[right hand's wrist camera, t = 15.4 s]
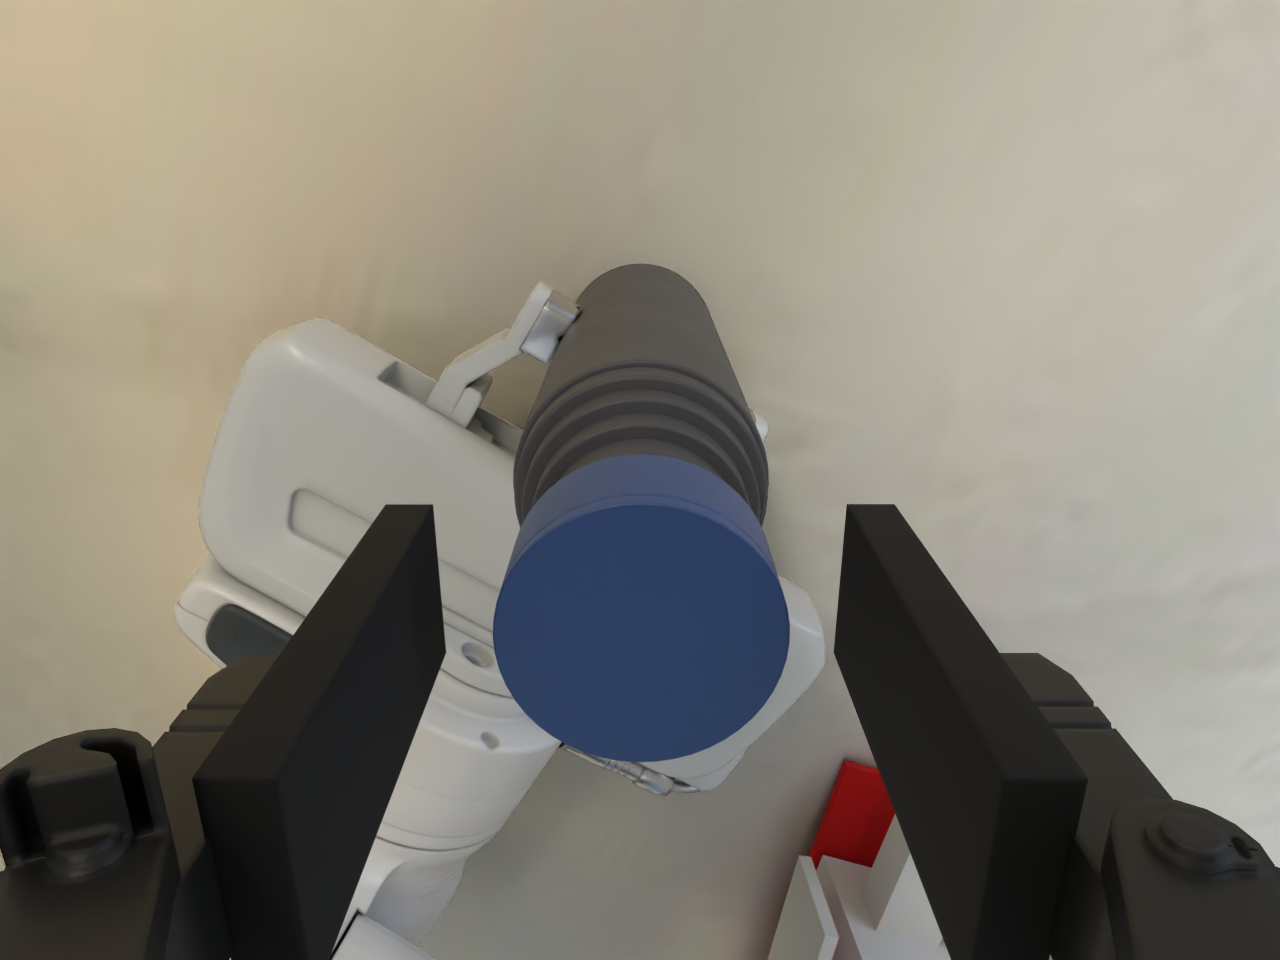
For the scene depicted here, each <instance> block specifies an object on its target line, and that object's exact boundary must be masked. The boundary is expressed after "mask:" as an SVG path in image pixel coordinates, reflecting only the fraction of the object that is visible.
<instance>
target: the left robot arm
mask: <svg viewBox="0 0 1280 960" xmlns="http://www.w3.org/2000/svg"><path fill="white" fill-rule="evenodd" d="M580 307H581V306H579V305H578V304H576V303H575V302H573V301H571V300H570V299H568V298H567V297H565V296H564V295H562V294H560V293H559V292H557V291H556V290H553V288H551V287H549V286H548V285H546V284H544V283H542V282H541V281H539V282H538V283H537V285H536V286H535V288H534V289H533V291H532V293H531V294H530V296H529V297H528V299H527V301H526V303H525V304H524V306H523V308H522V310H521V311H520V313H519V315H518V317H517V319H516V320H515V322H514V324H513V326H512V327H511V328H510V327H507V328H506V329H504V330H502V331H500V332H498V333H497V334H495V335H493V336H491V337H489V338H488V339H486V340H484V341H482V342H480V343H479V344H477V345H475V346H473V347H471V348H470V349H468V350H466V351H464V352H462V353H461V354H459V355H457V356H456V357H455V358H454V359H453V361H452V362H451V363H450V364H449V365H448V366H447V367H446V369H445V370H444V371H443V373H442V374H441V376H440V378H439V380H438V381H437V380H435V379H433V378H431V377H430V376H428V375H426V374H424V373H423V372H421V371H419V370H417V369H416V368H414V367H412V366H410V365H409V364H407V363H405V362H403V361H402V360H400V359H398V358H396V357H395V356H393V355H391V354H389V353H387V352H386V351H384V350H382V349H380V348H379V347H377V346H375V345H373V344H372V343H370V342H368V341H366V340H365V339H363V338H361V337H359V336H358V335H356V334H354V333H352V332H351V331H349V330H347V329H345V328H344V327H342V326H340V325H339V324H337V323H335V322H333V321H331V320H329V319H326V318H314V319H310V320H307V321H303V322H300V323H296V324H293V325H291V326H288V327H286V328H283V329H281V330H278V331H276V332H274V333H273V334H271V335H270V336H268V337H266V338H265V339H264V340H263V341H261V342H260V343H259V344H258V345H257V346H256V347H255V348H254V349H253V351H252V352H251V353H250V355H249V356H248V358H247V360H246V361H245V364H244V366H243V368H242V370H241V372H240V374H239V376H238V378H237V381H236V383H235V386H234V388H233V390H232V393H231V395H230V398H229V400H228V403H227V406H226V408H225V411H224V414H223V416H222V419H221V422H220V425H219V428H218V431H217V434H216V437H215V440H214V443H213V447H212V450H211V453H210V456H209V460H208V464H207V468H206V471H205V475H204V479H203V483H202V487H201V492H200V498H199V511H198V515H199V525H200V531H201V534H202V537H203V540H204V543H205V545H206V547H207V549H208V551H209V552H210V555H209V556H208V557H207V558H206V560H205V561H204V562H203V563H202V565H201V566H200V567H199V568H198V570H197V571H196V573H195V574H194V576H193V577H192V579H191V580H190V582H189V583H188V585H187V586H186V587H185V589H184V591H183V592H182V594H181V596H180V598H179V600H178V602H177V604H176V607H175V612H174V618H175V622H176V624H177V626H178V628H179V630H180V631H181V632H182V633H183V635H184V636H185V637H186V638H187V639H188V640H189V641H191V642H192V643H193V644H194V645H195V646H196V647H197V648H199V649H200V650H201V651H202V652H203V653H205V654H206V655H207V656H208V657H209V658H211V659H212V660H213V661H214V662H215V663H216V664H218V665H219V666H220V667H221V668H222V669H223V668H225V667H226V666H228V665H229V664H231V663H232V662H234V661H236V660H237V659H239V658H240V657H242V656H279V654H280V653H281V652H282V650H283V649H284V647H285V646H286V645H287V643H288V642H289V640H290V639H291V637H292V636H293V635H294V633H295V632H296V630H297V629H298V628H299V626H300V625H301V623H302V622H303V621H304V619H305V618H306V616H307V615H308V613H309V612H310V611H311V609H312V608H313V606H314V605H315V604H316V602H317V601H318V599H319V598H320V596H321V595H322V594H323V592H324V591H325V589H326V588H327V587H328V585H329V584H330V582H331V581H332V579H333V578H334V577H335V575H336V574H337V572H338V571H339V570H340V568H341V567H342V565H343V564H344V563H345V561H346V560H347V558H348V557H349V555H350V554H351V553H352V551H353V550H354V548H355V547H356V546H357V544H358V543H359V541H360V540H361V538H362V537H363V536H364V534H365V533H366V531H367V530H368V529H369V527H370V526H371V524H372V523H373V522H374V520H375V519H376V517H377V516H378V514H379V513H380V512H381V510H382V509H383V507H384V506H385V505H386V504H433V509H434V521H435V532H436V543H437V555H438V566H439V577H440V589H441V600H442V611H443V622H444V634H445V645H446V654H445V657H444V660H443V662H442V665H441V668H440V670H439V673H438V675H437V678H436V681H435V683H434V686H433V688H432V691H431V694H430V696H429V699H428V702H427V704H426V707H425V709H424V712H423V715H422V717H421V720H420V723H419V725H418V728H417V730H416V733H415V736H414V738H413V741H412V744H411V746H410V749H409V751H408V754H407V757H406V759H405V762H404V764H403V767H402V770H401V772H400V775H399V778H398V780H397V783H396V785H395V788H394V791H393V793H392V796H391V799H390V801H389V804H388V806H387V809H386V812H385V814H384V817H383V820H382V822H381V825H380V827H379V830H378V833H377V835H376V838H375V840H374V843H373V846H372V848H371V851H370V854H369V856H368V859H367V861H366V864H365V867H364V869H363V872H362V875H361V877H360V880H359V882H358V885H357V888H356V890H355V893H354V896H353V898H352V901H351V903H350V906H349V909H348V911H347V914H346V917H345V919H344V922H343V924H342V927H341V930H340V932H339V935H338V937H337V940H336V943H335V945H334V948H333V951H332V953H331V956H330V958H329V960H438V959H436V958H435V957H433V956H431V955H430V954H428V953H426V952H425V951H423V950H422V949H420V948H418V947H417V946H418V945H419V943H420V942H421V941H422V939H423V938H424V937H425V936H426V934H427V933H428V932H429V930H430V929H431V928H432V926H433V925H434V924H435V922H436V921H437V919H438V918H439V917H440V915H441V914H442V913H443V911H444V910H445V908H446V907H447V905H448V904H449V902H450V901H451V899H452V897H453V895H454V894H455V892H456V890H457V888H458V885H459V882H460V880H461V877H462V874H463V870H464V866H465V862H466V859H467V858H468V857H469V856H470V855H471V854H473V853H475V852H476V851H477V850H479V849H480V848H481V847H483V846H484V845H485V844H486V843H488V842H489V841H490V840H491V839H492V838H493V837H494V836H495V835H496V834H497V832H498V831H499V830H500V829H501V828H502V827H503V825H504V824H505V822H506V821H507V820H508V818H509V817H510V815H511V814H512V813H513V811H514V810H515V808H516V807H517V805H518V804H519V803H520V801H521V800H522V798H523V797H524V795H525V794H526V793H527V791H528V790H529V788H530V787H531V785H532V784H533V783H534V781H535V780H536V778H537V777H538V775H539V774H540V772H541V771H542V770H543V768H544V767H545V765H546V764H547V763H548V761H549V760H550V758H551V757H552V755H553V754H554V753H555V751H556V750H557V748H558V747H559V748H561V749H564V750H565V751H567V752H569V753H571V754H573V755H575V756H577V757H579V758H581V759H583V760H585V761H587V762H589V763H592V764H594V765H596V766H599V767H601V768H604V769H607V770H611V771H613V772H616V773H618V774H620V775H623V776H624V777H626V778H628V779H630V780H632V782H633V783H634V784H635V785H637V786H638V787H640V788H642V789H644V790H646V791H648V792H650V793H654V794H657V795H661V796H666V795H667V794H669V793H670V791H676V792H681V793H693V792H699V791H704V792H707V791H711V790H713V789H715V788H716V787H717V786H719V785H720V784H721V783H722V782H723V781H724V780H725V779H726V777H727V776H728V775H729V773H730V772H731V771H732V770H733V768H734V767H735V766H736V765H737V763H738V762H739V761H740V760H741V758H742V757H743V755H744V754H745V751H746V749H747V748H748V747H749V746H750V745H751V744H752V743H754V742H755V741H756V740H757V739H758V738H759V737H760V736H761V735H762V734H764V733H765V732H766V731H767V730H768V729H769V728H770V727H771V726H772V725H773V724H774V723H775V722H776V721H777V720H778V719H779V718H780V717H781V716H782V715H783V714H784V713H785V712H786V711H787V710H788V709H789V708H790V707H791V706H792V705H793V704H794V703H795V702H796V701H797V700H798V699H799V698H800V697H801V695H802V694H803V693H804V692H805V691H806V690H807V689H808V688H809V687H810V686H811V684H812V683H813V682H814V681H815V680H816V678H817V677H818V676H819V674H820V673H821V671H822V670H823V667H824V665H825V660H826V647H825V638H824V632H823V628H822V625H821V622H820V619H819V616H818V613H817V611H816V609H815V606H814V604H813V602H812V600H811V598H810V596H809V595H808V593H807V592H806V591H805V590H803V589H802V588H800V587H799V586H797V585H795V584H793V583H792V582H790V581H788V580H786V579H785V578H783V577H781V576H779V575H778V574H777V575H778V578H779V581H780V584H781V587H782V590H783V594H784V597H785V601H786V604H787V608H788V614H789V622H790V643H789V649H788V655H787V660H786V663H785V666H784V669H783V672H782V675H781V677H780V679H779V681H778V683H777V685H776V687H775V689H774V691H773V693H772V694H771V696H770V697H769V699H768V700H767V702H766V703H765V705H764V706H763V707H762V708H761V709H760V711H759V712H758V713H757V714H756V715H755V716H754V717H753V718H752V719H751V720H750V721H749V722H748V723H747V724H746V725H744V726H743V727H742V728H741V729H740V730H739V731H737V732H736V733H734V734H733V735H731V736H730V737H728V738H727V739H725V740H723V741H722V742H720V743H718V744H716V745H714V746H712V747H710V748H708V749H705V750H703V751H700V752H697V753H695V754H692V755H688V756H684V757H680V758H676V759H671V760H664V761H657V762H627V761H617V760H612V759H606V758H601V757H598V756H595V755H591V754H588V753H585V752H582V751H580V750H578V749H575V748H573V747H571V746H568V745H566V744H565V743H563V742H561V741H559V740H558V739H556V738H554V737H552V736H551V735H550V734H548V733H547V732H546V731H544V730H543V729H542V728H540V727H539V726H538V725H537V724H536V723H535V722H534V721H533V720H532V719H531V718H529V717H528V716H527V715H526V714H525V712H524V711H523V710H522V709H521V707H520V706H519V705H518V704H517V702H516V701H515V700H514V698H513V696H512V695H511V693H510V692H509V690H508V688H507V687H506V685H505V682H504V680H503V678H502V675H501V673H500V671H499V668H498V664H497V660H496V656H495V652H494V643H493V618H494V613H495V608H496V602H497V599H498V596H499V593H500V590H501V586H502V583H503V580H504V577H505V574H506V570H507V567H508V564H509V561H510V558H511V554H512V551H513V548H514V545H515V542H516V539H517V536H518V533H519V530H520V526H519V522H518V519H517V515H516V508H515V501H514V488H513V469H514V462H515V455H516V451H517V448H518V445H519V441H520V438H521V436H522V433H523V431H524V430H523V429H521V428H519V427H518V426H516V425H514V424H512V423H511V422H509V421H507V420H505V419H504V418H502V417H500V416H498V415H496V414H495V413H493V412H491V411H489V410H488V409H486V408H484V407H482V406H481V405H480V404H481V403H482V401H483V399H484V397H485V395H486V393H487V392H488V390H489V388H490V386H491V384H492V382H493V379H492V377H491V376H489V375H488V374H487V373H488V372H490V371H492V370H494V369H495V368H497V367H499V366H501V365H502V364H504V363H506V362H508V361H509V360H511V359H513V358H515V357H516V356H518V355H520V354H522V353H523V352H525V353H527V354H529V355H530V356H532V357H534V358H536V359H538V360H539V361H541V362H543V363H545V364H547V365H548V364H549V362H550V361H551V359H552V357H553V356H554V354H555V352H556V350H557V348H558V346H559V343H560V341H561V338H562V336H563V335H564V334H565V333H566V332H567V331H568V329H569V328H570V327H571V325H572V323H573V322H574V320H575V318H576V316H577V314H578V312H579V309H580ZM749 410H750V412H751V415H752V417H753V420H754V422H755V424H756V427H757V429H758V432H759V434H760V436H761V439H762V443H763V442H764V441H765V439H766V436H767V434H768V431H769V425H768V423H767V421H766V419H765V417H764V416H762V415H760V414H758V413H757V412H755V411H753V410H752V409H750V408H749ZM676 778H677V779H679V780H681V781H679V780H675V779H676ZM230 960H231V958H230Z"/></svg>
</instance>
